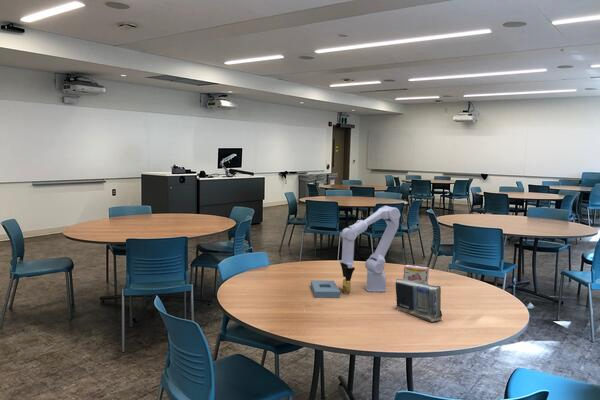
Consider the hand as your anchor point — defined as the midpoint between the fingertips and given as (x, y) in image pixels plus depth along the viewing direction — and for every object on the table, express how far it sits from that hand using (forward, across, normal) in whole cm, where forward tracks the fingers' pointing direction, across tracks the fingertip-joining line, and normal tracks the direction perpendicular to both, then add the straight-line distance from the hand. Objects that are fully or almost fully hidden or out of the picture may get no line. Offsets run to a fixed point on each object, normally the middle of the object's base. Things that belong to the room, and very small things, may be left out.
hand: (346, 278), depth 230 cm
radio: (+7, +33, +25) cm, 42 cm away
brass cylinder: (+7, 0, 0) cm, 7 cm away
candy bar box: (+7, +13, +31) cm, 34 cm away
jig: (+7, 0, -11) cm, 13 cm away
